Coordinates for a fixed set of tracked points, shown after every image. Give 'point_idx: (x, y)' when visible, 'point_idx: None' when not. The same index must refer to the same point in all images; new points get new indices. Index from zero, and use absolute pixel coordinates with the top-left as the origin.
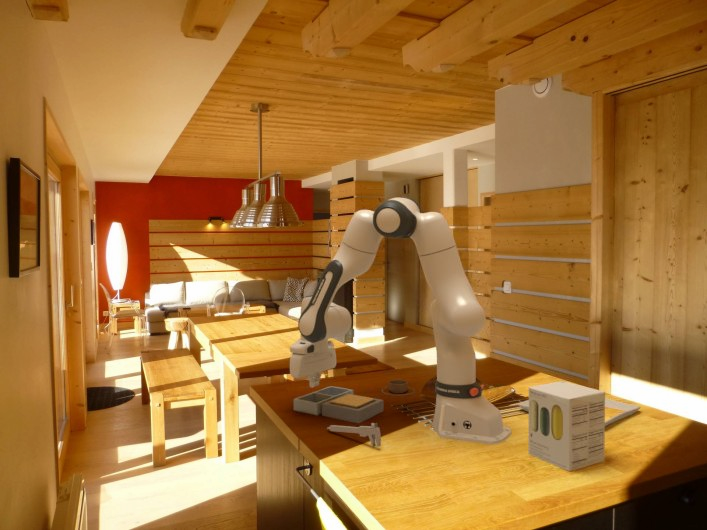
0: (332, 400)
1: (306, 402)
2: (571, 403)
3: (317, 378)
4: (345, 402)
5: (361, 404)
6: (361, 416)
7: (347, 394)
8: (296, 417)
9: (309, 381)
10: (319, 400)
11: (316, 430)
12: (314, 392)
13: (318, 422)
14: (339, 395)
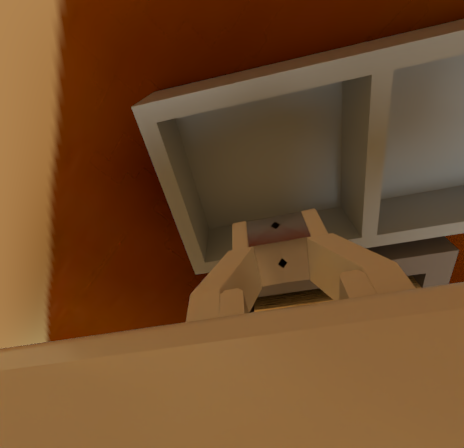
0: (291, 283)
1: (173, 213)
2: None
3: (325, 282)
4: None
5: None
6: None
7: (439, 259)
8: (117, 188)
9: (228, 256)
10: (349, 120)
11: (114, 323)
12: (384, 65)
13: (162, 283)
14: (404, 240)
